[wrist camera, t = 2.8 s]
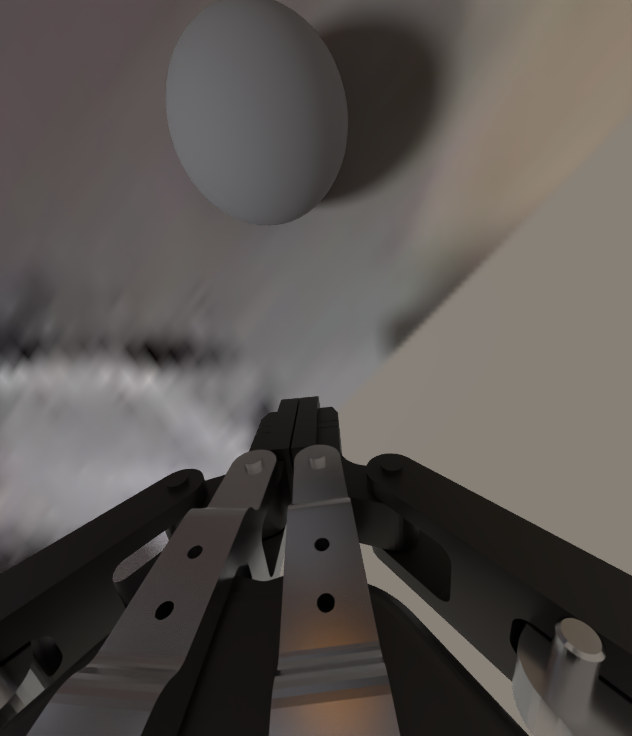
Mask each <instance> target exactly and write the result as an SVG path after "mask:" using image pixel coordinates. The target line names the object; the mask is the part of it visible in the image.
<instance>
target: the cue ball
mask: <svg viewBox="0 0 632 736" xmlns="http://www.w3.org/2000/svg"><path fill="white" fill-rule="evenodd" d="M166 112H167V120H168V125H169V130H170V134H171V138H172V141H173V144H174V147H175V150H176V153H177V155H178V157H179V159H180V162H181V164H182V166H183V167H184V169H185V171H186V173H187V174H188V176H189V177H190V179H191V180H192V182H193V183H194V184H195V186H196V187H197V188H198V190H199V191H200V192H201V193H202V194H203V195H204V196H205V197H206V198H207V199H208V200H209V201H210V202H211V203H212V204H214V205H215V206H216V207H217V208H219V209H220V210H222V211H223V212H225V213H227V214H228V215H230V216H232V217H234V218H236V219H238V220H241V221H244V222H247V223H252V224H257V225H277V224H283V223H287V222H290V221H293V220H295V219H297V218H300V217H301V216H303V215H305V214H306V213H308V212H309V211H310V210H312V209H313V208H314V207H315V206H316V205H317V204H318V203H319V202H320V201H321V200H322V199H323V198H324V197H325V195H326V194H327V193H328V191H329V190H330V188H331V187H332V185H333V183H334V181H335V179H336V177H337V175H338V173H339V170H340V168H341V165H342V162H343V159H344V155H345V151H346V145H347V137H348V108H347V101H346V95H345V90H344V87H343V83H342V80H341V76H340V73H339V71H338V68H337V66H336V63H335V61H334V59H333V57H332V55H331V53H330V51H329V49H328V48H327V46H326V45H325V43H324V42H323V40H322V39H321V38H320V36H319V35H318V33H317V32H316V31H315V30H314V29H313V27H312V26H311V25H310V24H309V23H308V22H307V21H306V20H305V19H304V18H303V17H301V16H300V15H299V14H298V13H296V12H295V11H294V10H292V9H290V8H288V7H287V6H285V5H283V4H281V3H279V2H277V1H274V0H219V1H217V2H215V3H213V4H212V5H210V6H208V7H207V8H205V9H204V10H203V11H202V12H200V13H199V14H198V15H197V16H196V17H195V18H194V19H193V20H192V21H191V22H190V23H189V25H188V26H187V27H186V29H185V30H184V32H183V33H182V35H181V37H180V39H179V41H178V43H177V45H176V47H175V49H174V52H173V55H172V58H171V61H170V65H169V70H168V74H167V84H166Z"/></svg>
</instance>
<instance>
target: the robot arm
mask: <svg viewBox="0 0 632 736" xmlns="http://www.w3.org/2000/svg"><path fill="white" fill-rule="evenodd" d="M163 531H166V534H167V537H168V539H169V542H168V543H167V545H166V546H165V548H164V549H163V551H162V552H160V553H159V554H158V555H156V556H155V557H154V558H152V559H151V560H150V561H148V562H147V563H146V564H144V565H143V566H142V567H141V568H139V569H138V570H137V571H135V572H134V573H133V574H131V575H130V576H129V577H127V578H126V579H124V580H122V581H120V582H117V583H113V581H112V577H113V573H114V571H115V569H116V567H117V566H118V565H119V564H120V563H121V562H122V561H123V560H124V559H126V558H127V557H128V556H130V555H131V554H133V553H134V552H135V551H137V550H138V549H140V548H141V547H142V546H144V545H145V544H147V543H148V542H149V541H151V540H152V539H154V538H155V537H156V536H158V535H159V534H161V533H162V532H163ZM359 543H362V544H366V545H371V546H372V548H373V551H374V553H375V554H376V556H377V557H378V558H379V559H380V560H381V561H382V562H383V563H384V564H385V565H387V566H388V567H389V568H390V569H391V570H392V571H393V572H394V573H395V574H396V575H397V576H398V577H399V578H401V579H402V580H403V581H404V582H405V583H406V584H407V585H408V586H409V587H410V588H411V589H412V590H413V591H414V592H416V593H417V594H418V595H419V596H420V597H421V598H422V599H423V600H424V601H425V602H426V603H427V604H429V605H430V606H431V607H432V608H433V609H434V610H435V611H436V612H437V613H438V614H439V615H440V616H442V617H443V618H444V619H445V620H446V621H447V622H448V623H449V624H450V625H451V626H452V627H453V628H454V629H456V630H457V631H458V632H459V633H460V634H461V635H462V636H463V637H464V638H465V639H467V641H469V642H470V643H471V644H472V645H473V646H474V647H475V648H476V649H477V650H478V651H479V652H480V653H482V654H483V655H484V656H485V657H486V658H487V659H488V660H489V661H490V662H491V663H492V664H493V665H494V666H495V667H497V668H498V669H499V670H500V671H501V672H502V673H503V674H504V675H505V676H506V677H508V679H510V680H511V681H512V689H513V695H514V699H515V703H516V706H517V708H518V711H519V713H520V715H521V717H522V719H523V721H524V723H525V724H526V726H527V728H528V729H529V730H530V732H531V733H532V735H533V736H632V576H631V575H629V574H627V573H625V572H623V571H622V570H620V569H618V568H616V567H614V566H612V565H610V564H608V563H606V562H605V561H603V560H601V559H599V558H597V557H595V556H593V555H591V554H589V553H587V552H586V551H584V550H582V549H580V548H578V547H576V546H574V545H572V544H571V543H569V542H567V541H565V540H563V539H561V538H559V537H557V536H555V535H554V534H552V533H550V532H548V531H546V530H544V529H542V528H540V527H538V526H537V525H535V524H533V523H531V522H529V521H527V520H525V519H523V518H521V517H519V516H518V515H516V514H514V513H512V512H510V511H508V510H506V509H504V508H502V507H500V506H499V505H497V504H495V503H493V502H491V501H489V500H487V499H485V498H483V497H482V496H480V495H478V494H476V493H474V492H472V491H470V490H468V489H466V488H465V487H463V486H461V485H459V484H457V483H455V482H453V481H451V480H449V479H447V478H446V477H444V476H442V475H440V474H438V473H436V472H434V471H432V470H430V469H429V468H426V467H425V466H422V465H421V464H419V463H417V462H415V461H413V460H411V459H410V458H408V457H405V456H403V455H399V454H382V455H379V456H376V457H374V458H372V459H371V460H370V461H369V462H368V464H367V466H364V465H358V464H354V463H352V462H350V461H348V460H346V459H345V458H344V457H343V456H342V449H341V439H340V429H339V420H338V412H337V411H336V410H335V409H334V408H333V407H325V408H320V403H319V397H318V396H315V397H304V398H294V399H284V400H281V402H280V405H279V408H278V412H271V413H268V414H267V415H266V416H265V417H264V418H263V419H262V420H261V423H260V425H259V428H258V430H257V433H256V435H255V438H254V440H253V443H252V445H251V448H250V450H249V452H247V453H244V454H243V455H241V456H239V457H238V458H237V459H236V460H235V461H234V462H233V463H232V465H231V467H230V468H229V470H228V472H227V474H226V475H223V476H220V477H216V478H213V479H209V480H206V481H205V480H204V476H203V474H202V472H201V471H199V470H196V469H185V470H180V471H177V472H175V473H172V474H170V475H168V476H167V477H165V478H163V479H161V480H160V481H158V482H156V483H155V484H153V485H151V486H150V487H148V488H146V489H144V490H143V491H141V492H139V493H138V494H136V495H134V496H133V497H131V498H129V499H127V500H126V501H124V502H122V503H121V504H119V505H117V506H116V507H114V508H112V509H110V510H109V511H107V512H105V513H104V514H102V515H100V516H99V517H97V518H95V519H94V520H92V521H90V522H88V523H87V524H85V525H83V526H82V527H80V528H78V529H77V530H75V531H73V532H71V533H70V534H68V535H66V536H65V537H63V538H61V539H60V540H58V541H56V542H54V543H53V544H51V545H49V546H48V547H46V548H44V549H43V550H41V551H39V552H37V553H36V554H34V555H32V556H31V557H29V558H27V559H26V560H24V561H22V562H20V563H19V564H17V565H15V566H14V567H12V568H10V569H9V570H7V571H5V572H3V573H2V574H0V736H529V735H528V734H527V733H526V732H525V731H524V730H523V729H522V728H521V727H520V726H519V725H518V724H517V723H516V722H515V721H514V719H513V718H512V717H511V716H510V715H509V714H508V713H507V712H506V711H505V710H504V709H503V708H502V707H501V706H500V705H499V703H498V702H497V701H496V700H494V698H493V697H492V696H491V695H490V694H489V693H488V692H487V691H486V690H485V689H484V688H483V687H482V686H481V685H480V683H479V682H478V681H477V680H476V679H475V678H474V677H473V676H472V675H471V674H470V673H469V672H468V671H467V670H466V669H465V668H464V666H463V665H462V664H461V663H460V662H459V661H458V660H457V659H456V658H455V657H454V656H453V655H452V654H451V653H450V652H449V651H448V650H447V649H446V647H445V646H444V645H443V644H442V643H441V642H440V641H439V640H438V639H437V638H436V637H435V636H434V635H433V634H432V633H431V632H430V630H429V629H428V628H427V627H426V626H425V625H424V624H423V623H422V622H421V621H420V620H419V619H418V618H417V617H416V616H415V615H414V614H413V613H412V612H411V611H410V610H409V609H408V608H407V607H406V606H405V605H403V604H402V603H401V602H400V601H399V600H397V599H396V598H394V597H393V596H391V595H390V594H388V593H387V592H385V591H383V590H381V589H379V588H377V587H375V586H372V585H369V584H367V579H366V574H365V569H364V565H363V559H362V554H361V549H360V544H359ZM284 554H285V561H284V576H282V577H279V576H280V572H281V567H282V563H283V558H284Z"/></svg>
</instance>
